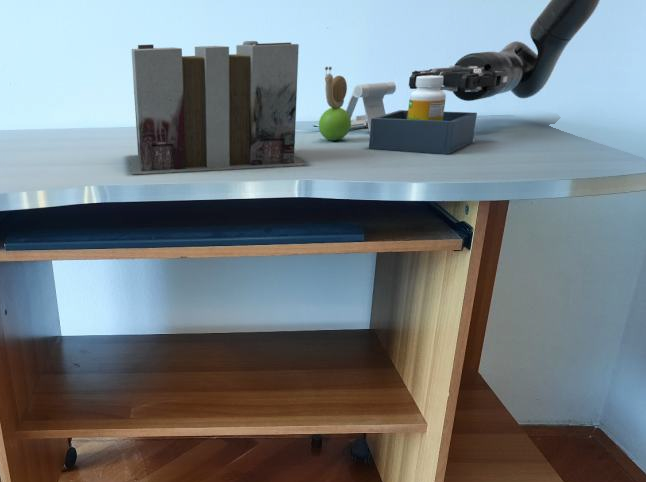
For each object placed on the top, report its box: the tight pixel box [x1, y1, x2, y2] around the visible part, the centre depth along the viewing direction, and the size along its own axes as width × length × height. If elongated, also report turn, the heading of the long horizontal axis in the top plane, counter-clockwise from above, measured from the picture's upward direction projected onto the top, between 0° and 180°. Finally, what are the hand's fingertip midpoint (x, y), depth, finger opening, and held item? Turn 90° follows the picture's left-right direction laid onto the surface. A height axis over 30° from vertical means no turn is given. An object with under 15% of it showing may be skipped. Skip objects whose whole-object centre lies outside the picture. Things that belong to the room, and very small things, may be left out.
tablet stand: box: [344, 81, 397, 133], centre depth 119 cm, size 9×8×8 cm
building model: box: [129, 40, 307, 175], centre depth 94 cm, size 16×25×16 cm, turn 96°
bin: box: [368, 109, 478, 155], centre depth 102 cm, size 13×13×5 cm
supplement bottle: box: [407, 76, 447, 121], centre depth 101 cm, size 5×5×10 cm
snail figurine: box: [318, 66, 352, 142], centre depth 108 cm, size 5×6×12 cm
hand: (436, 82), depth 101 cm, fingers open, 8 cm apart
